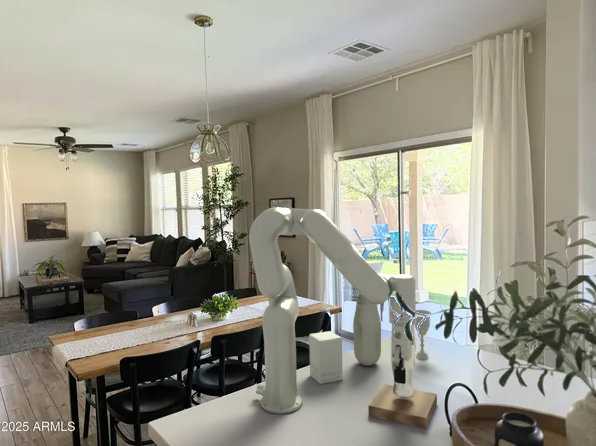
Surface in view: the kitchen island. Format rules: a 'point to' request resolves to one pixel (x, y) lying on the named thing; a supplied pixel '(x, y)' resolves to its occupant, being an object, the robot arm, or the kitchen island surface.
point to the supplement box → (325, 357)
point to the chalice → (422, 333)
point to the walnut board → (403, 407)
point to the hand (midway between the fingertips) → (403, 377)
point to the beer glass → (407, 388)
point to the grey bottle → (366, 332)
